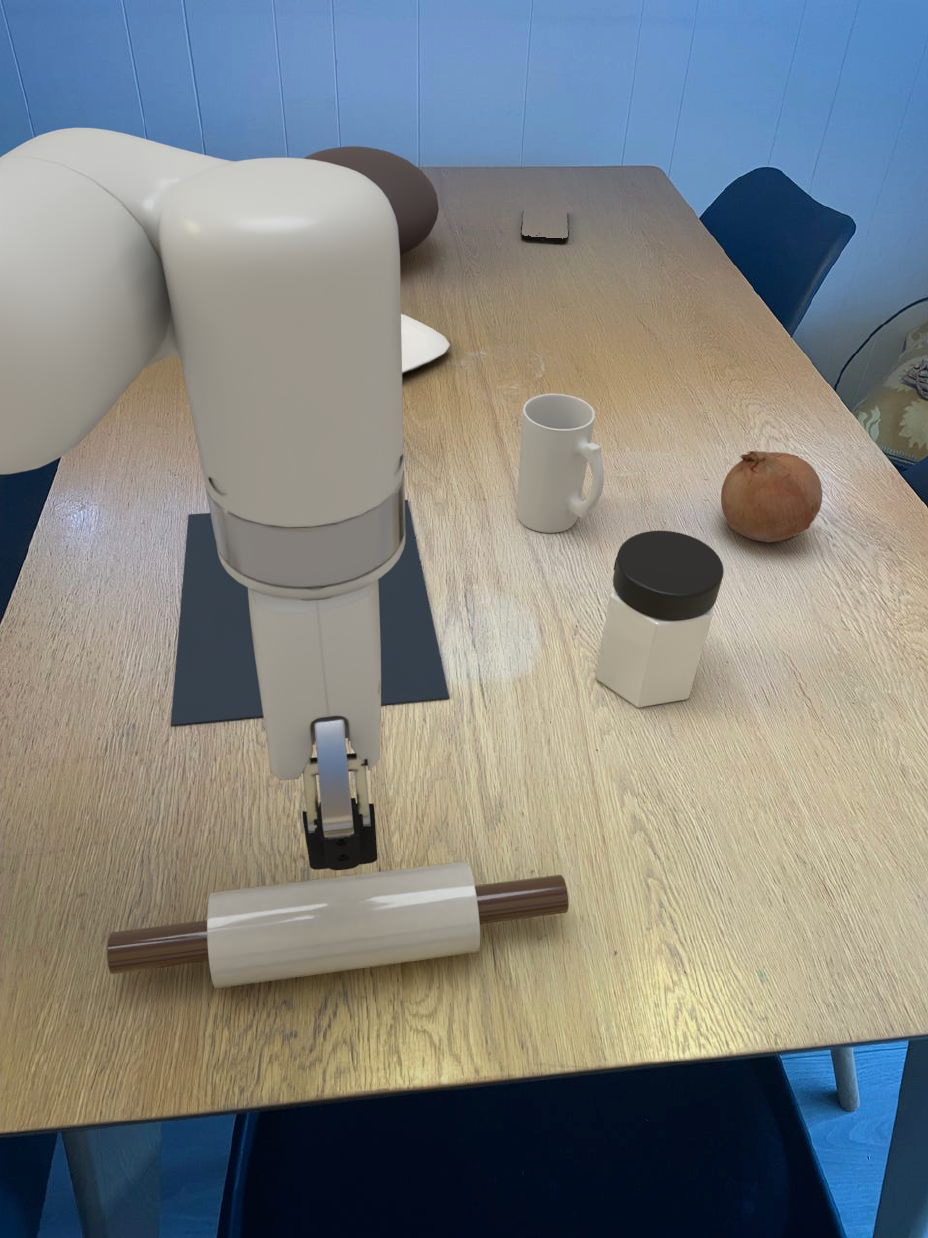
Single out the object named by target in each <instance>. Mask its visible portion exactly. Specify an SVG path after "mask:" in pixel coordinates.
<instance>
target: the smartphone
mask: <svg viewBox="0 0 928 1238" xmlns="http://www.w3.org/2000/svg"><path fill="white" fill-rule="evenodd" d="M521 230H522V226H521V227H520V231H521ZM539 234H540V233H539ZM536 236H538V235H536ZM569 236H570V231H569V230H568V237H567V238H563V239H562V238H546V237H531V236H529V235H528V236H524V235H522V233H521V232H520V238H521V240H523V241H525V242H526V241H527V242H538V243H551V244H565V243H567V242H568V239H569Z"/></svg>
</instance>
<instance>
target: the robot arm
mask: <svg viewBox="0 0 928 1238" xmlns="http://www.w3.org/2000/svg"><path fill="white" fill-rule="evenodd" d="M401 287H402V286H401V256H400V249H399V235H398V225H397V221H396V217H395V214H394V212H393V209H392V207H391V205H390V202H389V200H388V198H387V197H386V196H385V194H384V193H383V191H382V190H381V189H380V188H379V187H378V186H377V185H376V184H375V183H374V182H372V181H371V180H370V179H368V178H367V177H366V176H364V175H362V174H361V173H359V172H357V171H354V170H352V169H349V168H346V167H343V166H339V165H335V164H331V163H328V162H323V161H317V160H310V159H302V157H301V158H300V157H299V158H298V157H263V158H261V157H259V158H258V157H257V158H250V159H242V160H237V161H233V160H230V159H229V160H228V159H223V158H219V157H216V156H215V157H214V156H210V155H206V154H202V153H199V152H194V151H190V150H186V149H182V148H179V147H175V146H171V145H167V144H164V143H162V142H161V143H160V142H157V141H154V140H150V139H146V138H143V137H139V136H136V135H131V134H129V133H123V132H119V131H115V130H109V129H102V128H97V127H96V128H95V127H70V128H69V127H68V128H61V129H56V130H52V131H49V132H46V133H43V134H39V135H37V136H35V137H33V138H31V139H29V140H27V141H25V142H23V143H22V144H20V145H18V146H16V147H15V148H13V149H11V150H10V151H8V152H7V153H4V154H3V155H2V156H0V475H13V474H19V473H23V472H28V471H33V470H37V469H39V468H42V467H44V466H47V465H49V464H50V463H52V462H55V461H56V460H58V459H60V458H62V457H63V456H65V455H66V454H68V453H69V452H71V451H72V450H73V449H74V448H75V447H77V446H78V445H79V444H80V443H81V442H82V441H83V440H84V439H85V438H86V437H87V436H88V435H89V434H90V432H92V431H93V430H94V428H95V427H96V426H97V425H98V424H99V423H100V422H101V421H102V420H103V418H104V417H105V416H106V415H107V414H108V413H109V411H111V408H112V407H113V406H114V405H115V404H116V403H117V402H118V400H119V399H120V398H121V397H122V395H124V393H125V392H126V391H127V389H128V388H130V386H131V385H132V384H133V382H135V380H136V379H137V378H138V377H139V375H140V374H141V373H142V372H143V370H145V369H147V368H148V367H150V366H152V365H155V364H156V363H158V362H160V361H162V360H163V359H166V358H168V357H172V356H173V357H178V358H179V359H180V361H181V362H180V363H181V368H182V372H183V378H184V383H185V388H186V394H187V398H188V403H189V409H190V413H191V419H192V424H193V429H194V434H195V440H196V444H197V445H196V446H197V449H198V455H199V460H200V466H201V471H202V476H203V481H204V487H205V493H206V498H207V503H208V509H209V513H210V514H211V519H212V524H213V530H214V535H215V540H216V544H217V550H218V555H219V559H220V561H221V564H222V565H223V567H224V568H225V570H226V571H227V572H228V574H229V575H231V576H232V577H233V578H234V579H235V580H236V581H238V582H239V583H241V584H243V585H244V586H246V587H248V598H249V610H250V619H251V629H252V637H253V645H254V653H255V660H256V667H257V675H258V682H259V689H260V696H261V702H262V709H263V716H264V717H263V721H264V722H263V723H264V730H265V738H266V746H267V753H268V760H269V762H268V763H269V770H270V773H271V774H272V775H273V776H274V777H275V778H276V779H278V780H279V781H293V780H299V779H300V778H301V776H302V777H303V789H304V800H305V809H306V810H304V811H302V823H303V830H304V837H305V843H306V850H307V857H308V864H309V868H310V869H311V870H314V871H320V870H321V871H322V870H331V871H335V872H337V871H346V870H352V869H354V868H357V867H359V866H360V865H361V866H362V865H368V864H372V863H375V862H377V860H378V842H377V828H376V827H377V825H376V811H375V802H374V803H373V802H372V803H370V801H369V790H368V777H367V771H368V772H369V771H370V770H372V769H373V768H374V767H375V766H376V765H377V764H378V762H379V761H380V759H381V758H380V757H381V730H382V728H381V727H382V706H381V643H380V613H379V586H378V579H379V578H381V577H382V576H383V575H384V574H386V573H387V572H388V571H389V570H390V569H391V568H392V567H393V566H394V565H395V564H396V562H397V561H398V560H399V558H400V556H401V554H402V552H403V550H404V546H405V500H406V496H405V495H406V493H405V491H406V490H405V449H404V448H405V445H404V442H405V441H404V405H403V403H404V401H403V399H404V398H403V374H402V341H401V314H402V295H401V292H402V290H401ZM346 739H347V740H346ZM346 741H347V742H349V745H350V748H351V749H352V750H353V752H352V753H347V752H348V751H347V742H346ZM314 746H315V748H316V756H315V757H312V755H313V753H314ZM349 772H354V773H353V774H354V783H355V785H354V786H355V794H356V795H355V797H352V796H351V795H352V794H351V784H350V774H349ZM317 776H318V781H317ZM317 782H318V783H317ZM318 787H319V795H318ZM319 798H320V801H319Z"/></svg>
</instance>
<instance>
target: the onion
mask: <svg viewBox="0 0 928 1238" xmlns="http://www.w3.org/2000/svg"><path fill="white" fill-rule="evenodd" d="M746 453H747V454H746ZM746 453H745V454H744V453H743V454H740V456H739V458H740V459H741V460H740V461H739V462H737V463H736V464H735V465H734V466H732V468H731V469H730V470H729V472H728V473H727V474H726V475H725V478H724V481H723V484H722V485H721V486H722V487H721V491H720V504H721V505H720V506H721V510H722V513H723V515H724V516H723V517H724V519H725V520H726V522H727V524H728V525H729V526H730V528H731V529H732V530H733V531H734V532H735V533H736V534H738V535H740V536H743V537H745V538H747V539H749V540H753V541H757V542H765V543H773V544H778V543H782V542H783V543H784V542H785V543H787V542H788V541H789V540H793V539H795V538H797V537H799V536H800V535H801V533H803V532H805V531H806V530H808V529H809V528H810V527H811V524H812V523H813V522H814V521H815V520H816V517H817V516H818V514H819V513H820V511H821V507H822V504H823V503H822V502H823V487H822V482H821V480H820V477H819V475H818V473H817V471H816V469H814V468H813V466H812V465H811V464H810V463H809V462H808V461H807V460H805V459H803V458H801V457H799V456H798V455H795V454H790V453H788V452H777V451H775V452H773V451H769V452H768V451H757V450H750V451H747V452H746Z"/></svg>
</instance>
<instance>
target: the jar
mask: <svg viewBox="0 0 928 1238" xmlns="http://www.w3.org/2000/svg"><path fill="white" fill-rule="evenodd" d="M724 570H725V569H724V564H723V561H722V559H721V558H720V556H719V555H718V553H717V552H716V551H715V550H714V549H713V548H712V547H710V546H709V545H708V544H706V543H705V542H704V541H702V540H700V539H698V538H696V537H694V536H691V535H688V534H685V533H681V532H678V531H672V530H649V531H643V532H640V533H637V534H635V535H633V536H631V537H629V538H628V539H626V540H625V541H624V542H623V543H622V544H621V545H620V546H619V549H618V551H617V555H616V557H615V561H614V566H613V577H612V586H611V587H612V588H611V591H610V595H609V599H608V605H607V609H606V610H607V611H606V616H605V622H604V627H603V631H602V632H603V633H602V637H601V643H600V648H599V654H598V660H597V663H596V664H597V665H596V670H595V675H594V676H595V677H594V678H595V679H596V680H597V681H598V682H600V683H601V684H603V685H604V686H605V687H607V688H608V689H609V690H611V691H613V692H614V693H616V694H617V695H619V696H620V697H621V698H623V699H624V700H626V701H627V702H628V703H630V704H631V705H633V706H634V707H636V708H644V707H650V706H655V705H661V704H668V703H672V702H673V703H674V702H679V701H685V700H688V699H689V698H690V695H691V693H692V688H693V685H694V681H695V678H696V674H697V671H698V668H699V665H700V661H701V658H702V655H703V651H704V647H705V643H706V641H707V638H708V637H707V636H708V634H709V629H710V627H711V623H712V619H713V615H714V606H715V604H716V602H717V600H718V596H719V592H720V588H721V586H722V582H723V578H724V574H725V573H724V572H725V571H724Z"/></svg>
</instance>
